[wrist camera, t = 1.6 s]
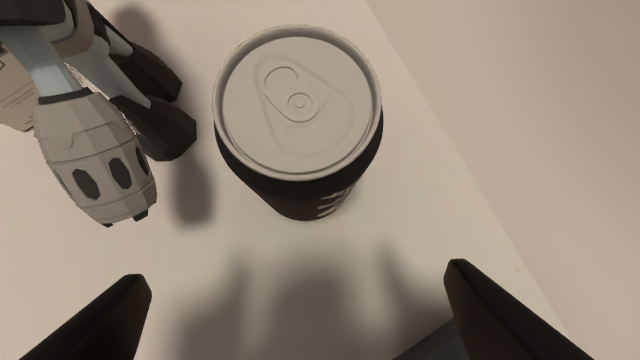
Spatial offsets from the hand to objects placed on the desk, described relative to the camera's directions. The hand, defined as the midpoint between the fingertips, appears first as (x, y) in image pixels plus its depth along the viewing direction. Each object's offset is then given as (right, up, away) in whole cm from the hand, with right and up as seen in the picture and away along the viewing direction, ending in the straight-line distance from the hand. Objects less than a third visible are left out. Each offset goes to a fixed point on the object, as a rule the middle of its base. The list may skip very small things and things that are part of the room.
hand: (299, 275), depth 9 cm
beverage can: (0, +3, +13) cm, 13 cm away
